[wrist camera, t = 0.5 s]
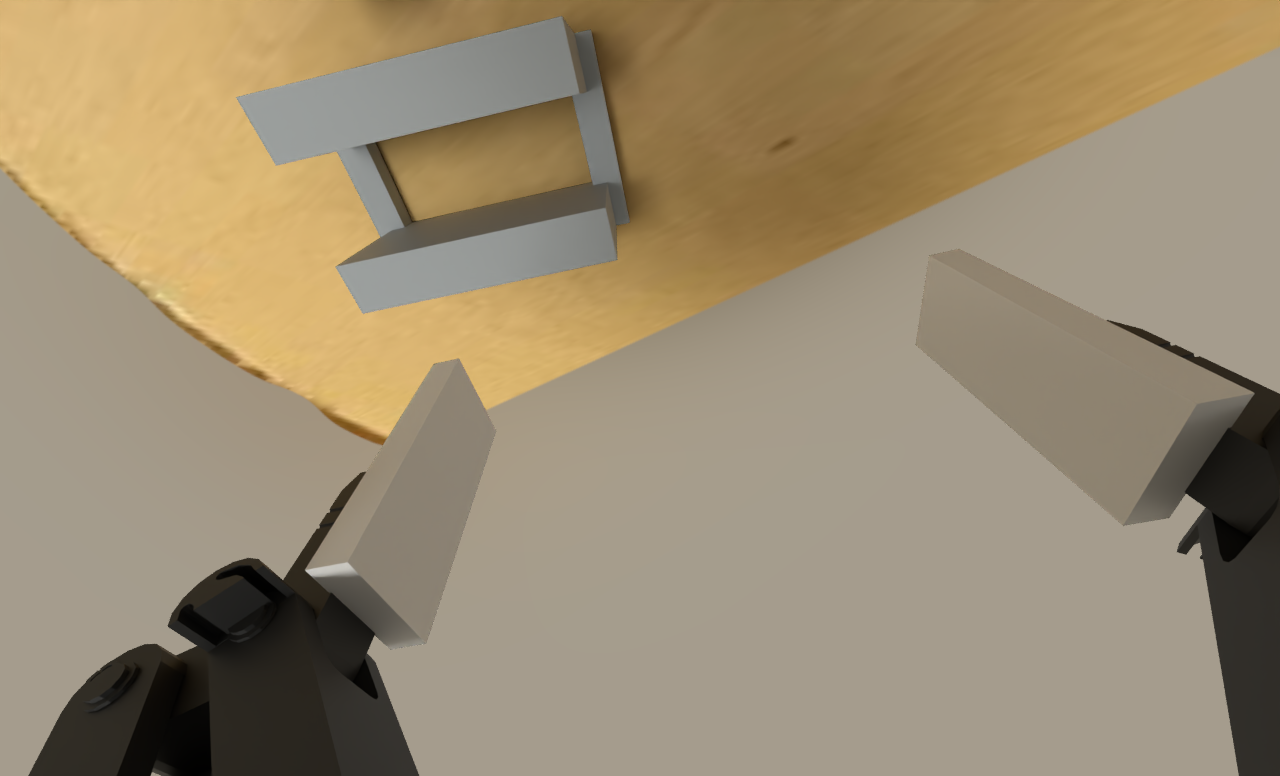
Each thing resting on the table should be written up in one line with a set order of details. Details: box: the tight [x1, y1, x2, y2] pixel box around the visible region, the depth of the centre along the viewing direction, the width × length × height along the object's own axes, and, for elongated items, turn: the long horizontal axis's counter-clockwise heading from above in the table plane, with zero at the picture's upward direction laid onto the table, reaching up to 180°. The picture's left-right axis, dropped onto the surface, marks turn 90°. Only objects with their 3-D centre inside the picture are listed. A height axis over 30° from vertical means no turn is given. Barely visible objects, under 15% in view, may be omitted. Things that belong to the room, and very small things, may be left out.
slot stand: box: [236, 16, 630, 314], centre depth 28 cm, size 11×18×10 cm, turn 101°
